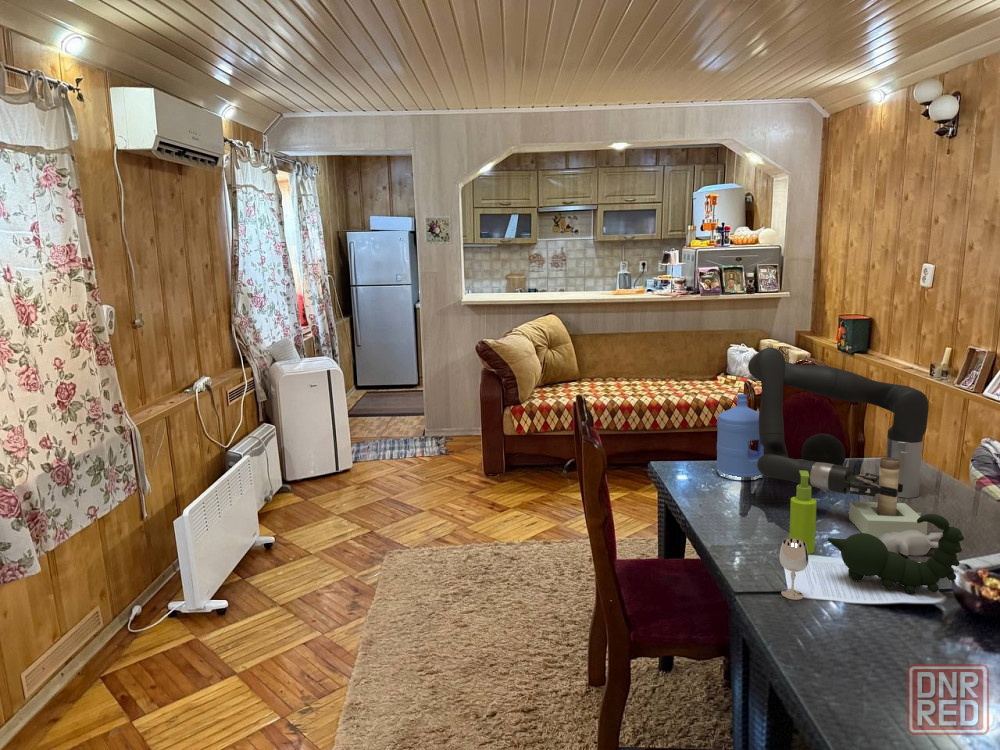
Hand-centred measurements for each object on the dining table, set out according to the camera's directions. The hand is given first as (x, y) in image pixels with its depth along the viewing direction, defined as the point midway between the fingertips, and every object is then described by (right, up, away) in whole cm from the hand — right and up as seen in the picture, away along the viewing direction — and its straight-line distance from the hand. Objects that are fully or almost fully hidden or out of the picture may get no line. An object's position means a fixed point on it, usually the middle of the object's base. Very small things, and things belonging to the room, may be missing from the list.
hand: (899, 490), depth 173 cm
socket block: (-1, -11, +4) cm, 12 cm away
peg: (-2, -10, +4) cm, 10 cm away
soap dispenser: (-29, -14, -6) cm, 32 cm away
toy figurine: (-18, -17, -26) cm, 36 cm away
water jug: (-23, -4, +53) cm, 58 cm away
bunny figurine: (-3, -14, -10) cm, 17 cm away
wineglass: (-41, -18, -29) cm, 53 cm away
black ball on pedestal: (+3, -4, +47) cm, 47 cm away
